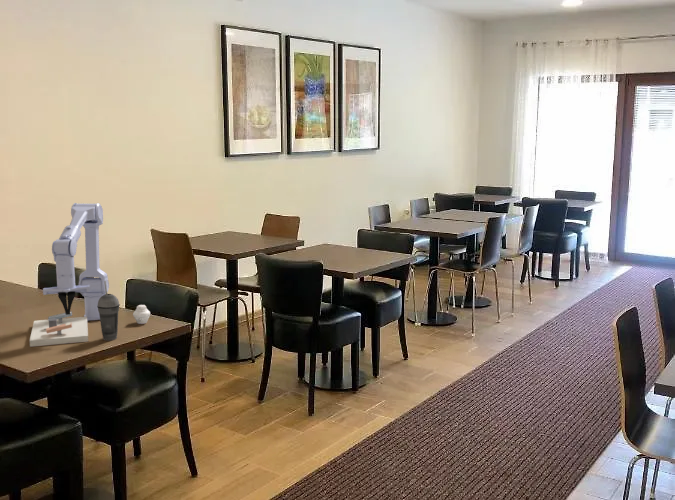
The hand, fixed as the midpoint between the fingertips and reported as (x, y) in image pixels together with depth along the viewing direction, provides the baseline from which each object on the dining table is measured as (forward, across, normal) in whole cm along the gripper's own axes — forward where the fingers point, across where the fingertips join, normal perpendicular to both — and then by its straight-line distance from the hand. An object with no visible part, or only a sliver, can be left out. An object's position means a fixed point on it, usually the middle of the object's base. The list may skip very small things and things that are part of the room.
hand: (67, 313), depth 233 cm
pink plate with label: (+4, -3, -1) cm, 5 cm away
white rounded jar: (+9, +25, +12) cm, 29 cm away
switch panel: (+8, -3, +7) cm, 11 cm away
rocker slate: (+4, -3, +15) cm, 16 cm away
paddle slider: (+6, -5, +7) cm, 11 cm away
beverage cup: (+9, +13, -5) cm, 16 cm away
